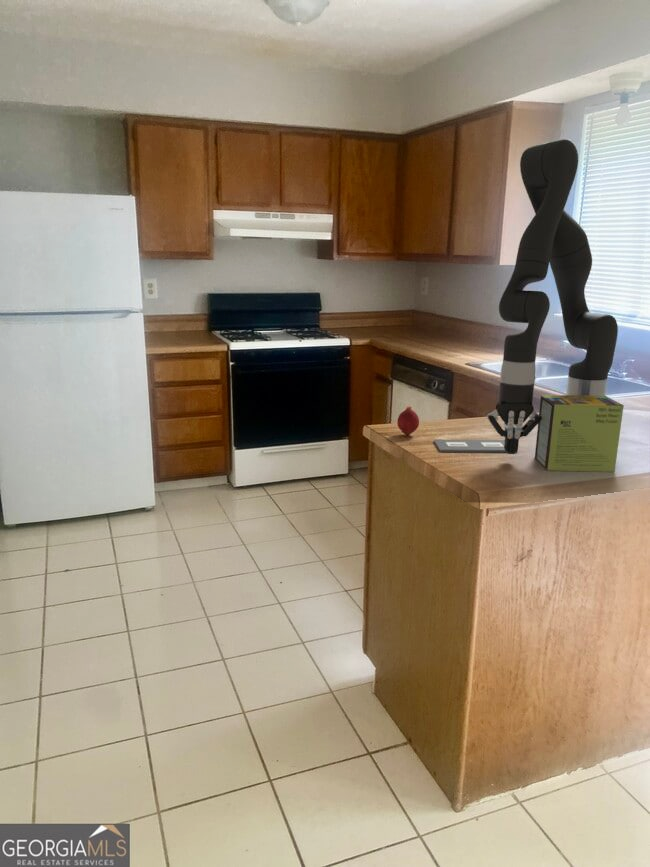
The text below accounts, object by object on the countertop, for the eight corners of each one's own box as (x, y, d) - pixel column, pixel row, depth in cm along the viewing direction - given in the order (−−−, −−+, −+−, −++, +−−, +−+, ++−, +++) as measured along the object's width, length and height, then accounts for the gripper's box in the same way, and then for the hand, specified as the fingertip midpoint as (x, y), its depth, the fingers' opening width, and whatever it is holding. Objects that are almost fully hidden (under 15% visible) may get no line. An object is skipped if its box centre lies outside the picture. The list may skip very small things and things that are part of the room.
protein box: (615, 472, 144) (625, 405, 140) (546, 471, 144) (554, 404, 140) (597, 458, 154) (606, 395, 150) (533, 457, 154) (539, 394, 150)
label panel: (506, 442, 166) (507, 439, 166) (517, 452, 158) (517, 449, 157) (433, 441, 166) (433, 439, 166) (440, 451, 157) (440, 449, 157)
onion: (417, 438, 169) (419, 409, 166) (395, 437, 170) (397, 408, 167) (419, 433, 174) (420, 404, 172) (397, 431, 175) (399, 403, 173)
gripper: (540, 377, 149) (533, 448, 154) (484, 377, 149) (478, 448, 154) (552, 383, 142) (544, 458, 147) (492, 383, 142) (486, 457, 146)
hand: (510, 453), depth 150 cm, fingers closed
